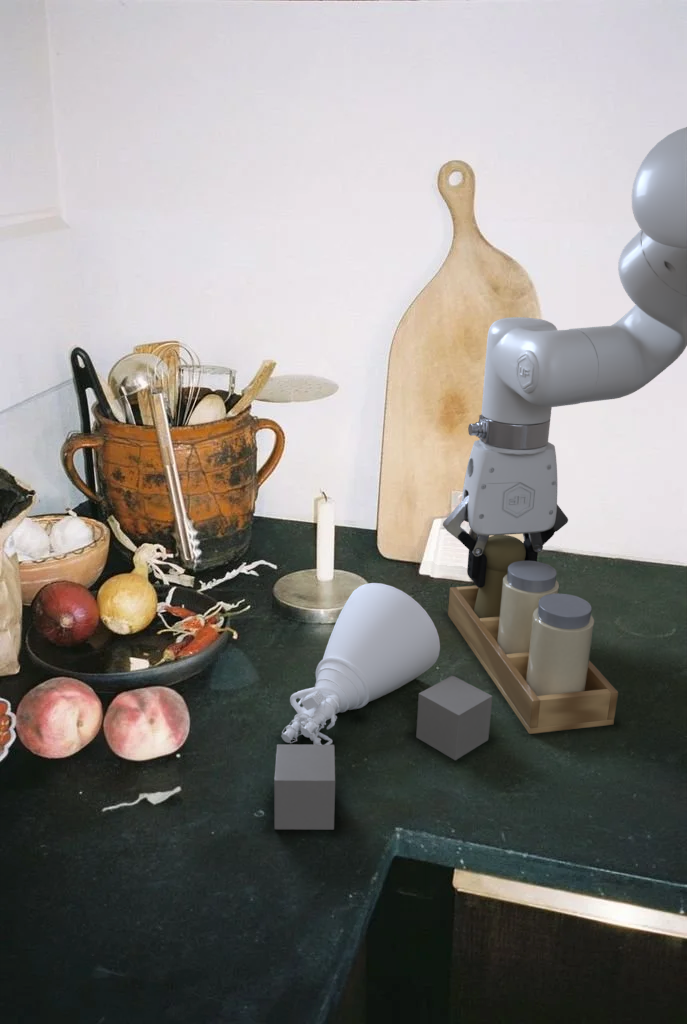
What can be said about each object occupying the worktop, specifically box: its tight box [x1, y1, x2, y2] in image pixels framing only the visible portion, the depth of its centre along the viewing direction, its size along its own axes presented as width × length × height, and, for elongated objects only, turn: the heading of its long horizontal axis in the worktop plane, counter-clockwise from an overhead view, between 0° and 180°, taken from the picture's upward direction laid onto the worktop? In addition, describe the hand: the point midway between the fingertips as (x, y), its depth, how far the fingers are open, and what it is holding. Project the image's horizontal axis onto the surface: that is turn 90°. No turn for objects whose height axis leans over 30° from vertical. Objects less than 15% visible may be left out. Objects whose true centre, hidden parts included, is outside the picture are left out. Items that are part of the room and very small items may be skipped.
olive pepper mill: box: [474, 534, 526, 619], centre depth 110 cm, size 6×6×11 cm
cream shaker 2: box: [526, 592, 595, 696], centre depth 95 cm, size 6×6×11 cm
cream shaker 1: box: [497, 560, 560, 654], centre depth 103 cm, size 6×6×11 cm
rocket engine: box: [280, 582, 441, 745], centre depth 94 cm, size 12×12×18 cm
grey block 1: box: [273, 743, 336, 831], centre depth 80 cm, size 5×5×5 cm
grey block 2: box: [415, 675, 493, 761], centre depth 90 cm, size 5×5×5 cm
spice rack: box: [447, 585, 619, 735], centre depth 104 cm, size 9×26×4 cm, turn 12°
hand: (500, 579), depth 110 cm, fingers closed on olive pepper mill, 5 cm apart
